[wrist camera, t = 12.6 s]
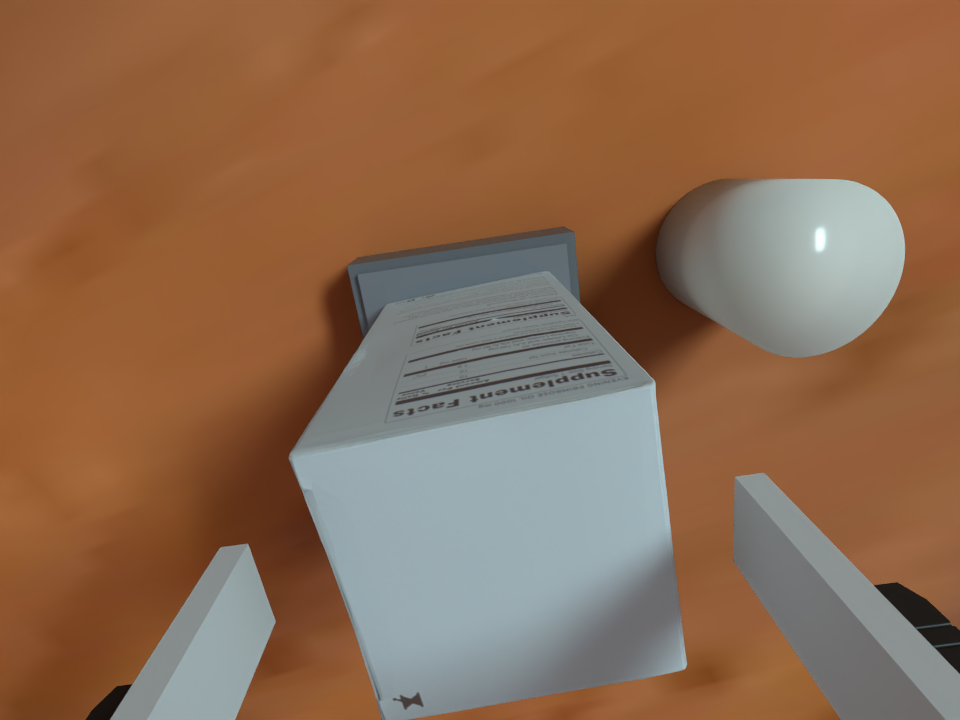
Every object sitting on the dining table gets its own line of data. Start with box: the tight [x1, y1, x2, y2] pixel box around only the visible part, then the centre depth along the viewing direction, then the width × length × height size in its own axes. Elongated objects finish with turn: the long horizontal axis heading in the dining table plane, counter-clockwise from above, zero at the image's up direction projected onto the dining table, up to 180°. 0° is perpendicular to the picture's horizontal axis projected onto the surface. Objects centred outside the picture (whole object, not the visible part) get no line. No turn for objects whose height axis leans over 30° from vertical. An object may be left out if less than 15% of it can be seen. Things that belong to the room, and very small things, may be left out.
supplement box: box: [289, 271, 687, 720], centre depth 22 cm, size 10×9×17 cm
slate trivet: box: [347, 227, 580, 339], centre depth 31 cm, size 13×12×3 cm
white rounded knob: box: [656, 179, 905, 357], centre depth 27 cm, size 8×8×9 cm
